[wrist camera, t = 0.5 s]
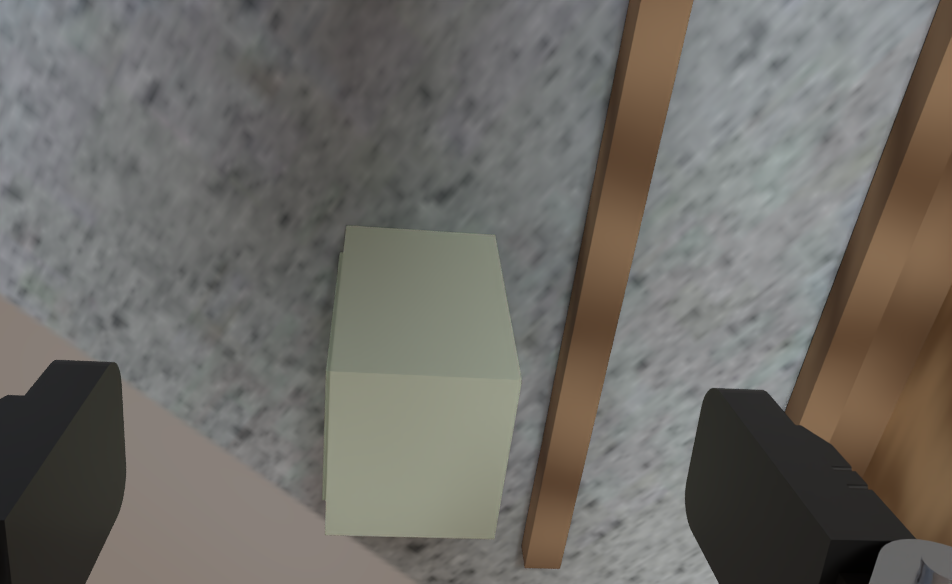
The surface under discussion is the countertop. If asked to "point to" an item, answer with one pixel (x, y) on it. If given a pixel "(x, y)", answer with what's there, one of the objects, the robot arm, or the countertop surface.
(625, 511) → the countertop surface
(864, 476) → the brown wooden rack
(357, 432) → the pale green box
